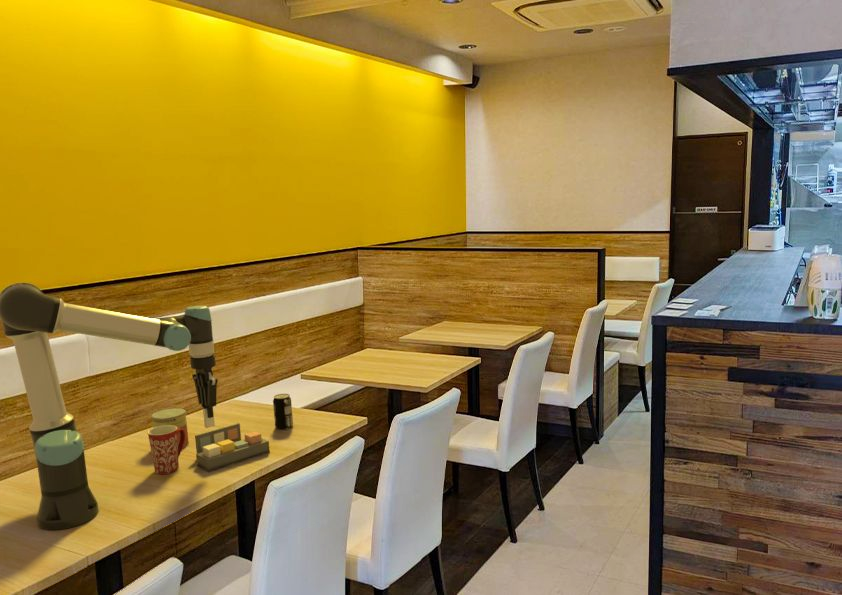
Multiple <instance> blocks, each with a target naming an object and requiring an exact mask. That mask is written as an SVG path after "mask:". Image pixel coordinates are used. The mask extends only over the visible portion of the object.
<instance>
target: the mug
mask: <svg viewBox="0 0 842 595" xmlns="http://www.w3.org/2000/svg"><path fill="white" fill-rule="evenodd" d="M178 432H180V442H179V445H178V443H177V433H178ZM147 436H148V441H149V446H150V451H151V457H152V463H153V468H154V472H155V474H156V475H167V474H171V473H174V472H176V471H178V470H179V468H180V467H179V466H180V465H179V458H180V455H181V453H182V450H183V449H184V448H183V445H184V441H185V432H184V430H183V429H180V428H177V427H176V426H173V425H164V426H158V427H155V428H153V427H152V428H150V429H148V431H147ZM182 448H183V449H182Z"/></svg>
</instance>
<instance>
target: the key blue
mask: <svg viewBox="0 0 842 595" xmlns="http://www.w3.org/2000/svg"><path fill="white" fill-rule="evenodd" d="M243 440H244V439H241V440H240V441H237V442H234V447H235V448H236V449H239V448H242V447H245V446H248V442H246V441H243Z"/></svg>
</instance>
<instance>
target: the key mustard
mask: <svg viewBox="0 0 842 595" xmlns="http://www.w3.org/2000/svg"><path fill="white" fill-rule="evenodd" d="M217 445H218V446H220V452H221V453H226V452H229V451H232V450H235V447H234V442H233V441H231V440H229V439H227V440H224V441H221V442H217Z"/></svg>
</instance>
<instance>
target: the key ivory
mask: <svg viewBox="0 0 842 595" xmlns="http://www.w3.org/2000/svg"><path fill="white" fill-rule="evenodd" d="M219 454H221V453H220V446H218V445H216V444H211V445H207V446H204V447H203V455H204V456H206V457H208V458H210V457H213V456H216V455H219Z"/></svg>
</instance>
